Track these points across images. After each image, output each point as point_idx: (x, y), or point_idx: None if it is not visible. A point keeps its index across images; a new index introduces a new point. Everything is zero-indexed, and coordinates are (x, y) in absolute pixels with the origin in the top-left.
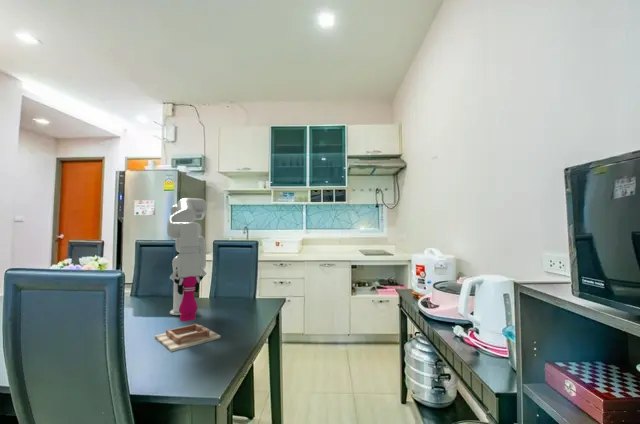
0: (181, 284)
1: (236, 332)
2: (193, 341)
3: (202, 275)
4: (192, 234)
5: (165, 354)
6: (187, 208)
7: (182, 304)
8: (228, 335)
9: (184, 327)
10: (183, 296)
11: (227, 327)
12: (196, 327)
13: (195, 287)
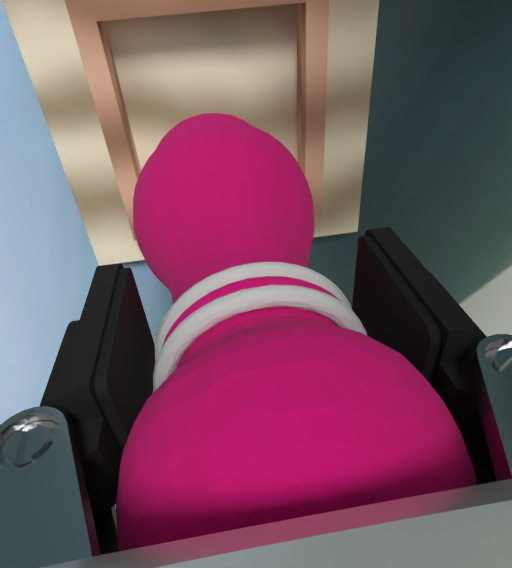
0: (116, 475)
1: (456, 195)
2: None
3: None
4: None
5: (76, 274)
6: None
7: (158, 277)
8: (402, 212)
9: (214, 10)
10: (172, 297)
11: (493, 65)
12: (302, 36)
13: (379, 340)
